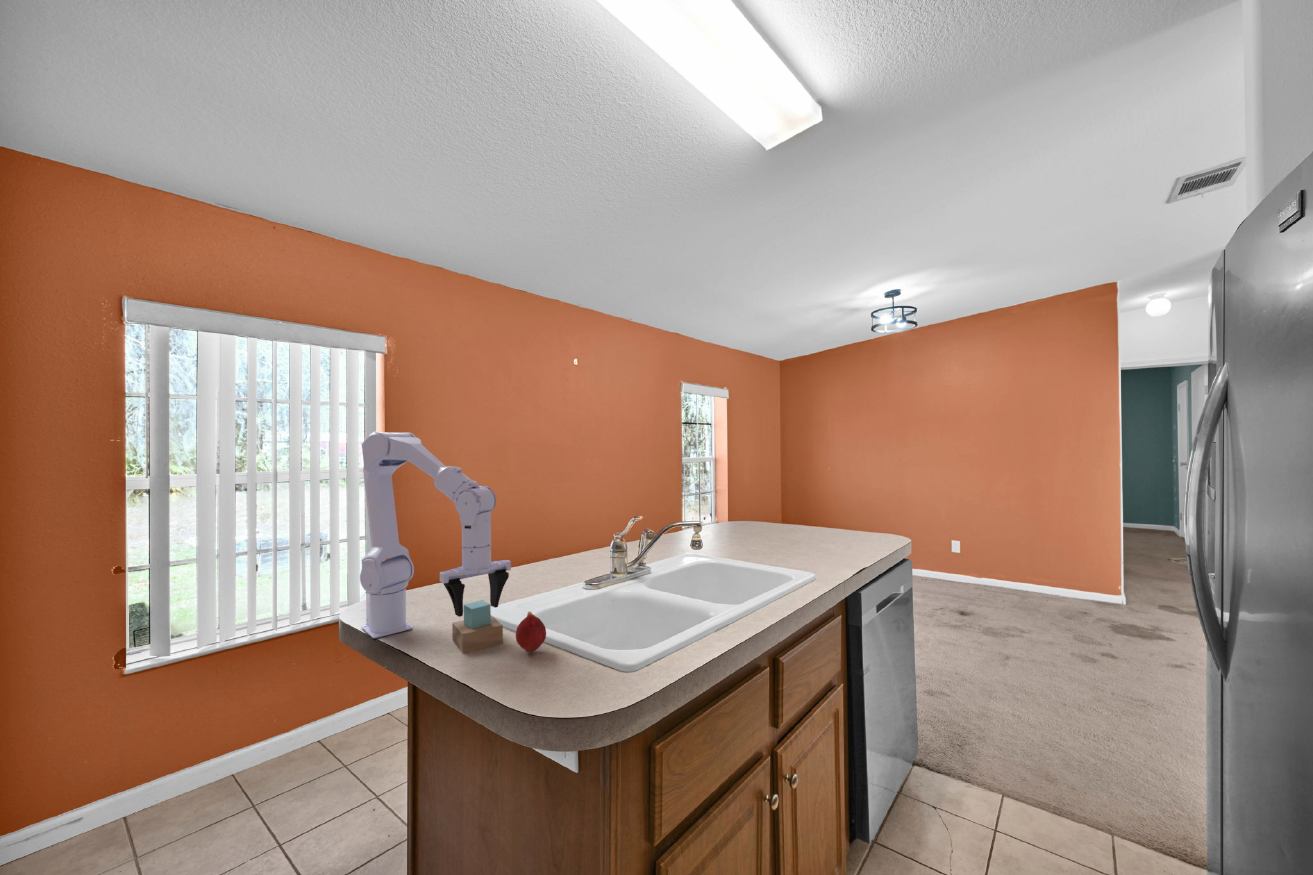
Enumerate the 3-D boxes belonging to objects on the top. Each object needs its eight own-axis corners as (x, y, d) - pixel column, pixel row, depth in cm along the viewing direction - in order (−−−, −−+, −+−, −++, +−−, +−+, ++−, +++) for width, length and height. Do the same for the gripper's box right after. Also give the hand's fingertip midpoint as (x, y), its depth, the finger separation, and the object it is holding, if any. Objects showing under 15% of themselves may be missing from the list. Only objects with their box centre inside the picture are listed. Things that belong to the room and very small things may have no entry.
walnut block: (452, 641, 105) (452, 622, 105) (490, 632, 110) (490, 614, 110) (462, 654, 98) (462, 634, 98) (502, 644, 103) (502, 625, 103)
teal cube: (463, 623, 104) (463, 604, 104) (482, 618, 107) (482, 600, 107) (471, 628, 101) (471, 609, 101) (490, 623, 104) (490, 604, 104)
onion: (550, 646, 101) (549, 607, 101) (540, 659, 95) (540, 617, 95) (522, 646, 101) (521, 606, 101) (511, 658, 96) (510, 616, 96)
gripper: (449, 553, 96) (449, 624, 96) (517, 542, 106) (518, 606, 106) (435, 548, 101) (435, 615, 101) (501, 538, 111) (502, 599, 111)
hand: (477, 610), depth 104 cm, fingers open, 7 cm apart
